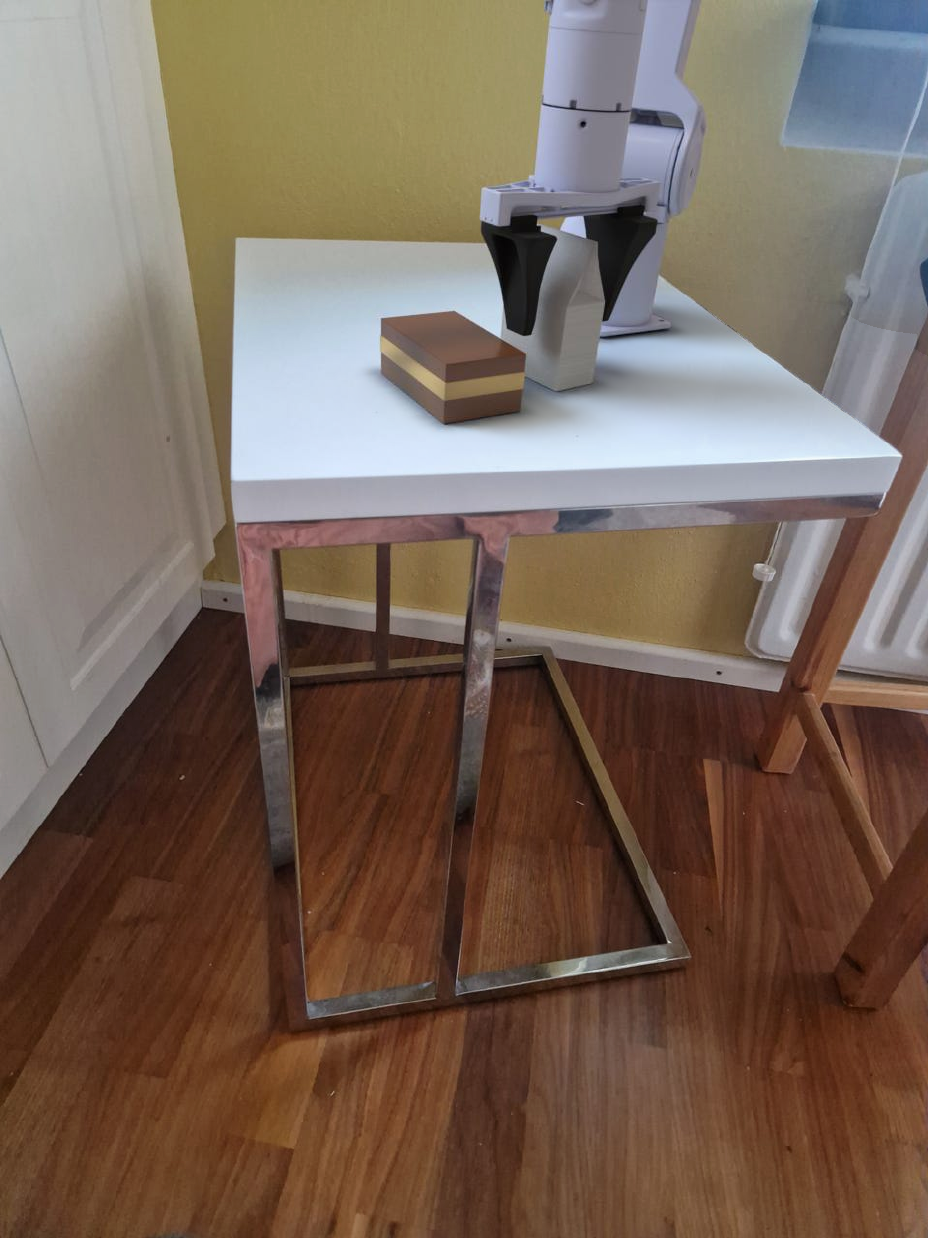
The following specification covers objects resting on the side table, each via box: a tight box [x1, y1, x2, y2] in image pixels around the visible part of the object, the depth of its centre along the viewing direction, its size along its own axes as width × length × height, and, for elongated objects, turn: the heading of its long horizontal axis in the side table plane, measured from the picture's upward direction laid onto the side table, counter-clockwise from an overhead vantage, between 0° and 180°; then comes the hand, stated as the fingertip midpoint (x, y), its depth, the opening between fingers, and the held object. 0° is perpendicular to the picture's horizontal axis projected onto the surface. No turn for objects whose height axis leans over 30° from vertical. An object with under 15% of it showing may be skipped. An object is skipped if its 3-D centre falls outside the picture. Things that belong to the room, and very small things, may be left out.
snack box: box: [379, 310, 526, 425], centre depth 58 cm, size 10×6×4 cm, turn 29°
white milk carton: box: [500, 222, 605, 393], centre depth 60 cm, size 4×7×10 cm, turn 36°
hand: (558, 324), depth 60 cm, fingers open, 7 cm apart
